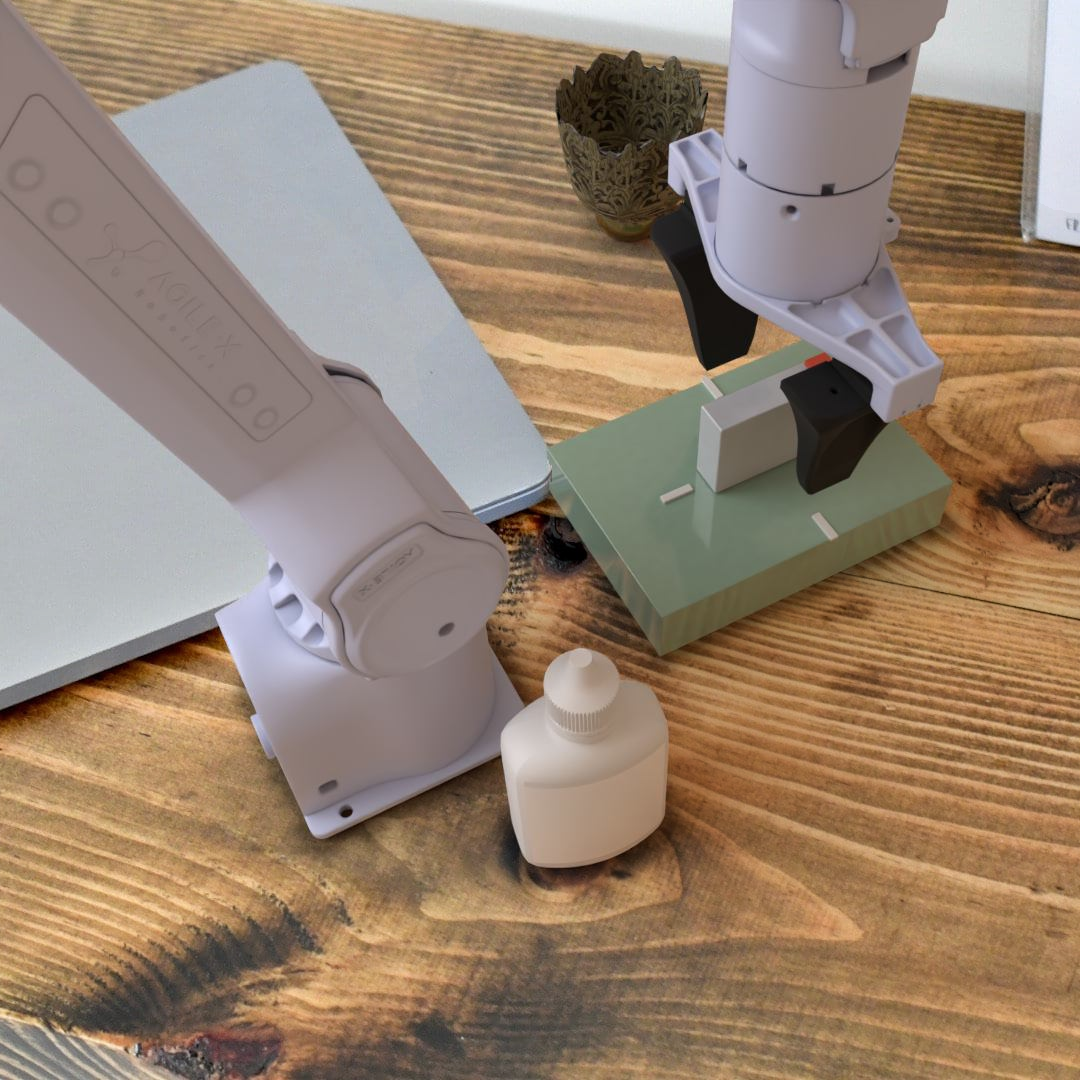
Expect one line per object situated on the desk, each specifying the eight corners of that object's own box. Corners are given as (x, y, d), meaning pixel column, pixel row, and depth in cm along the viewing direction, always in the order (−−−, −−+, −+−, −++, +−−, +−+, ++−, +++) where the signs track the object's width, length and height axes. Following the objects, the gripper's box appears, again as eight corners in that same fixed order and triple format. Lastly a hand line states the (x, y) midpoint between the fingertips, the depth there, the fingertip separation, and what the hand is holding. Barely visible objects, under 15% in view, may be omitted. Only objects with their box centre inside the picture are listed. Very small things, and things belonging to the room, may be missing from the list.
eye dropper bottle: (653, 889, 48) (662, 734, 38) (503, 864, 49) (474, 706, 39) (670, 782, 50) (682, 610, 41) (527, 759, 51) (505, 586, 41)
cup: (538, 252, 68) (530, 123, 62) (588, 167, 72) (585, 37, 66) (674, 284, 66) (680, 154, 60) (718, 195, 70) (727, 64, 64)
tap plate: (661, 659, 53) (663, 617, 51) (547, 488, 59) (544, 443, 57) (941, 526, 57) (956, 481, 54) (808, 377, 62) (816, 329, 60)
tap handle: (715, 494, 55) (721, 427, 51) (695, 468, 55) (700, 401, 52) (835, 441, 56) (849, 372, 53) (814, 416, 57) (827, 347, 53)
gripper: (1055, 226, 40) (962, 500, 51) (790, -2, 48) (759, 277, 59) (862, 308, 38) (809, 573, 49) (621, 57, 46) (621, 333, 57)
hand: (772, 416), depth 54 cm, fingers open, 7 cm apart
